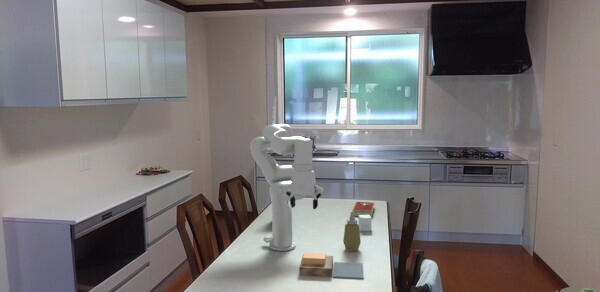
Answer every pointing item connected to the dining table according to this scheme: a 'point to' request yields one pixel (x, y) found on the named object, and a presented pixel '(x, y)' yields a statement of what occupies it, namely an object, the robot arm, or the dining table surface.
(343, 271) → the mat
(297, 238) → the dining table surface
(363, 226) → the skincare box
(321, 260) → the tile
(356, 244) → the squeeze bottle
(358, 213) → the hardcover book
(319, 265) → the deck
